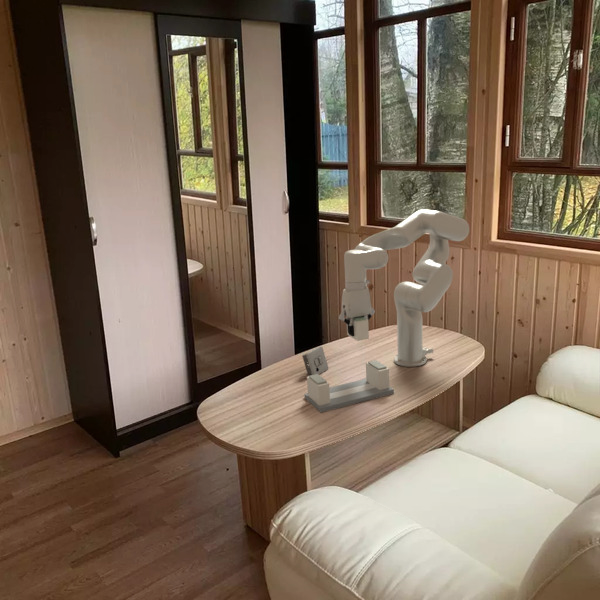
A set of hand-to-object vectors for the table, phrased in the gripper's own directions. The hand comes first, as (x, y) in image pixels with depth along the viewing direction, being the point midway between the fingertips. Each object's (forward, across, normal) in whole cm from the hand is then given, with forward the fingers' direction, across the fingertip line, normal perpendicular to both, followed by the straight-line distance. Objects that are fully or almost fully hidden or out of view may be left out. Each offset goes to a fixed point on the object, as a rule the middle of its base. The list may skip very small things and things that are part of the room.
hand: (357, 333), depth 218 cm
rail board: (+17, +10, +12) cm, 23 cm away
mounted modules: (+16, +10, +12) cm, 22 cm away
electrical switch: (+18, +12, -13) cm, 25 cm away
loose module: (+1, 0, 0) cm, 1 cm away
